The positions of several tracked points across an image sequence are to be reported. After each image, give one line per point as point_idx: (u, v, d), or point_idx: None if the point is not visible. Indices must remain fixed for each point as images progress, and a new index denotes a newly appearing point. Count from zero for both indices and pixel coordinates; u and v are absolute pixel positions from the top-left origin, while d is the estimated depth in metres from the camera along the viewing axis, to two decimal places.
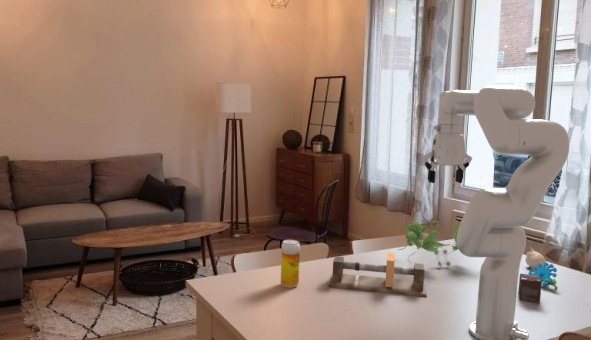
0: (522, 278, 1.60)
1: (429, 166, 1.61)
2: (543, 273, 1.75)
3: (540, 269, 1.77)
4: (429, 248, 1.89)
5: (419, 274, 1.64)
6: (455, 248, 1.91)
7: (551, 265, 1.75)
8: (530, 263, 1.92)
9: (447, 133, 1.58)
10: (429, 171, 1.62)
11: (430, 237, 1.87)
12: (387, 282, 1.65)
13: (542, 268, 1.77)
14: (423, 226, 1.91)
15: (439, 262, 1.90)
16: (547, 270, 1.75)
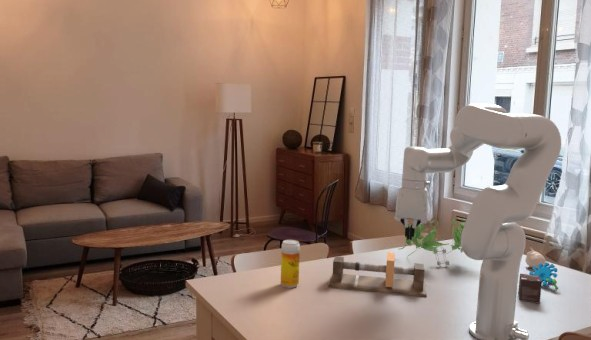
0: (522, 278, 1.60)
1: None
2: (544, 273, 1.75)
3: (541, 269, 1.77)
4: (428, 247, 1.90)
5: (419, 274, 1.64)
6: (454, 247, 1.92)
7: (552, 265, 1.75)
8: (530, 263, 1.92)
9: None
10: (414, 228, 1.66)
11: (429, 236, 1.88)
12: (387, 282, 1.65)
13: (543, 268, 1.77)
14: (422, 225, 1.92)
15: (438, 261, 1.91)
16: (548, 270, 1.75)
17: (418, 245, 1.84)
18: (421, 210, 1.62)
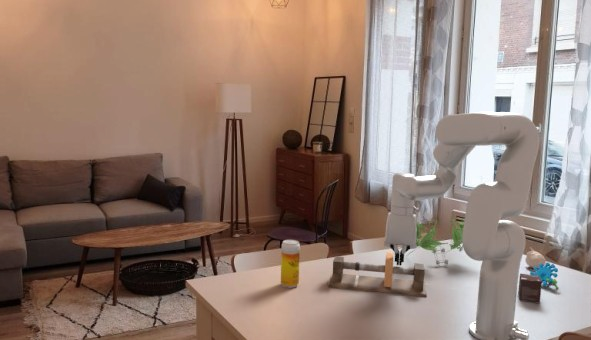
0: (522, 278, 1.60)
1: None
2: (544, 273, 1.75)
3: (541, 269, 1.77)
4: (427, 247, 1.91)
5: (419, 274, 1.64)
6: (453, 247, 1.93)
7: (552, 265, 1.75)
8: (530, 263, 1.92)
9: None
10: (404, 253, 1.67)
11: (428, 236, 1.89)
12: (386, 282, 1.65)
13: (543, 268, 1.77)
14: (421, 225, 1.93)
15: (437, 261, 1.92)
16: (548, 270, 1.75)
17: (417, 244, 1.85)
18: (410, 236, 1.64)
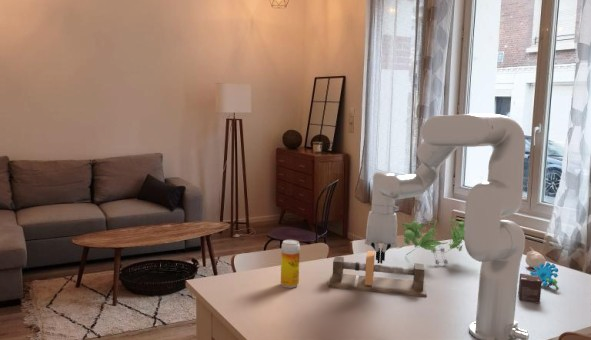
0: (522, 278, 1.60)
1: None
2: (544, 273, 1.75)
3: (542, 269, 1.77)
4: (427, 246, 1.92)
5: (419, 274, 1.64)
6: (452, 246, 1.94)
7: (553, 265, 1.75)
8: (530, 263, 1.92)
9: None
10: None
11: (427, 235, 1.89)
12: (366, 280, 1.66)
13: (544, 268, 1.77)
14: (421, 225, 1.94)
15: (436, 260, 1.92)
16: (549, 270, 1.75)
17: (416, 244, 1.85)
18: (390, 234, 1.65)
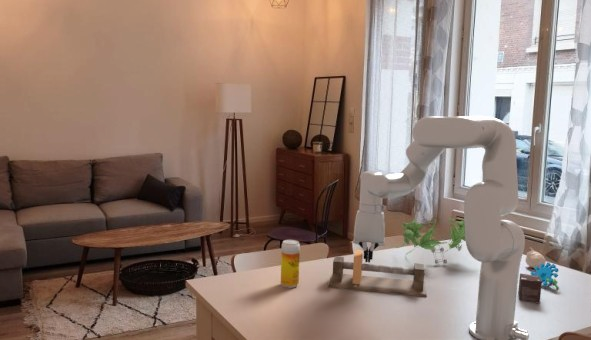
0: (522, 278, 1.60)
1: None
2: (545, 273, 1.75)
3: (542, 269, 1.77)
4: (426, 246, 1.92)
5: (419, 274, 1.64)
6: (452, 246, 1.94)
7: (553, 265, 1.75)
8: (530, 263, 1.92)
9: None
10: (372, 251, 1.69)
11: (427, 235, 1.90)
12: (354, 279, 1.67)
13: (544, 268, 1.77)
14: (420, 224, 1.94)
15: (436, 260, 1.93)
16: (549, 270, 1.75)
17: (416, 244, 1.86)
18: (378, 233, 1.66)
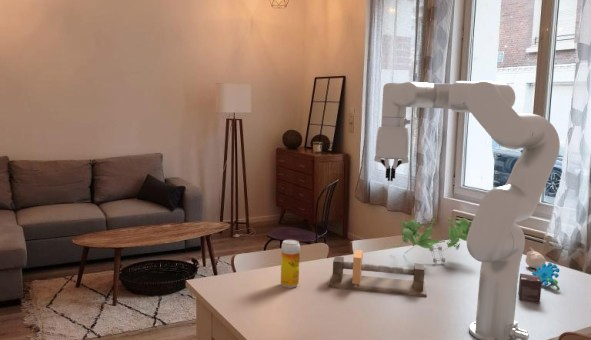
0: (522, 278, 1.60)
1: None
2: (546, 273, 1.75)
3: (543, 269, 1.77)
4: (424, 245, 1.94)
5: (419, 274, 1.64)
6: (450, 245, 1.96)
7: (554, 265, 1.75)
8: (530, 263, 1.92)
9: None
10: (395, 169, 1.59)
11: (425, 234, 1.91)
12: (354, 279, 1.67)
13: (545, 268, 1.77)
14: (418, 223, 1.96)
15: (434, 258, 1.94)
16: (550, 270, 1.74)
17: (414, 242, 1.87)
18: (402, 149, 1.55)
